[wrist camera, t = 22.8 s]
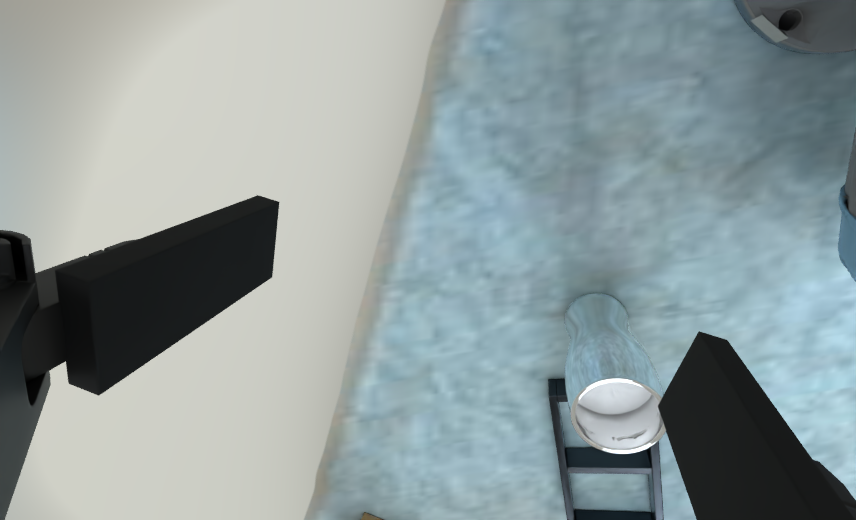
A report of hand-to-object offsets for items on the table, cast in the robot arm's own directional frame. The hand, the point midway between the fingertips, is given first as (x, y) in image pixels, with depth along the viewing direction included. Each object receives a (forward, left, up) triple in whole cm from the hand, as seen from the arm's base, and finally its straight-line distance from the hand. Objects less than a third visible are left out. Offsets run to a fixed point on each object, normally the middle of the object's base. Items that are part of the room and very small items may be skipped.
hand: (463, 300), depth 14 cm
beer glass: (-6, +17, -31) cm, 36 cm away
